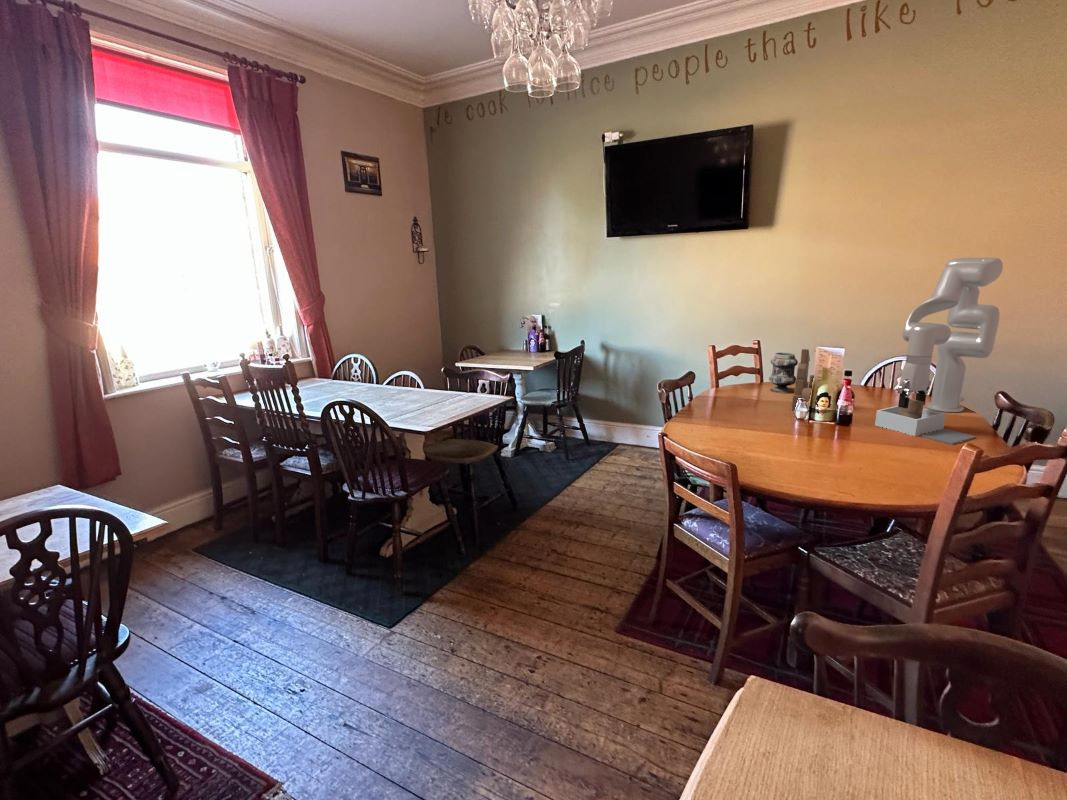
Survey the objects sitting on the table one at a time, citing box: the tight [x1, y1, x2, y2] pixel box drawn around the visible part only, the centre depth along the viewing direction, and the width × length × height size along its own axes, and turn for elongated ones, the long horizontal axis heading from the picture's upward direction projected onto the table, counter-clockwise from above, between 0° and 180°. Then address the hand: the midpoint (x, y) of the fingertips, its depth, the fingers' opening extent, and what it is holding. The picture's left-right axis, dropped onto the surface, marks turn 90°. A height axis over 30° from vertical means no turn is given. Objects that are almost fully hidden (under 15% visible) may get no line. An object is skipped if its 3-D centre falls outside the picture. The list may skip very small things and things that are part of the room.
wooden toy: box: [791, 348, 815, 412], centre depth 228 cm, size 15×7×25 cm, turn 144°
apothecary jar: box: [768, 351, 799, 394], centre depth 257 cm, size 12×12×18 cm
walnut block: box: [899, 398, 924, 419], centre depth 200 cm, size 5×5×8 cm
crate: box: [874, 405, 947, 437], centre depth 201 cm, size 17×15×6 cm
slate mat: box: [920, 428, 977, 445], centre depth 189 cm, size 14×10×1 cm
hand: (911, 405), depth 199 cm, fingers open, 9 cm apart
